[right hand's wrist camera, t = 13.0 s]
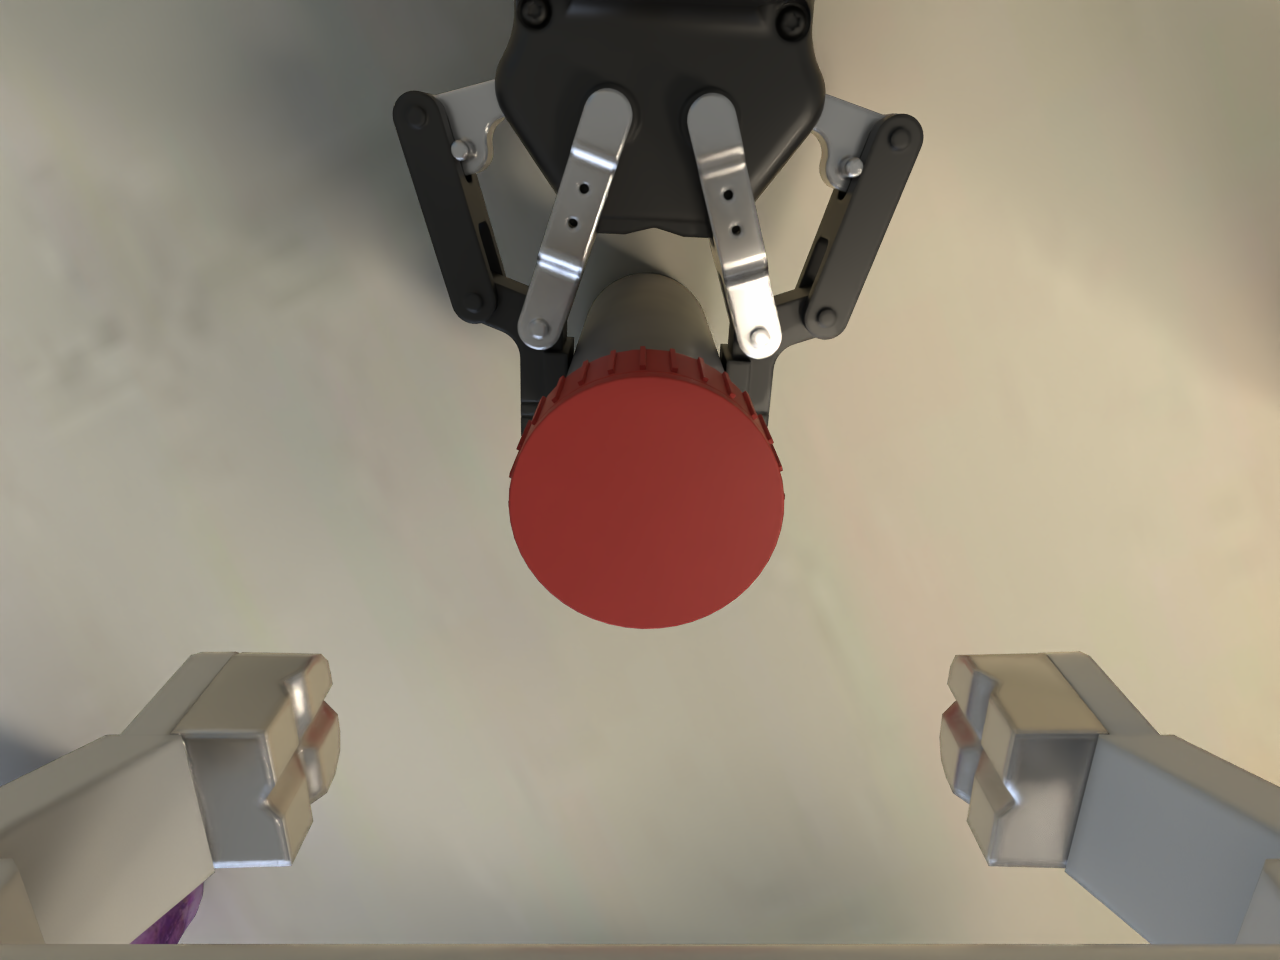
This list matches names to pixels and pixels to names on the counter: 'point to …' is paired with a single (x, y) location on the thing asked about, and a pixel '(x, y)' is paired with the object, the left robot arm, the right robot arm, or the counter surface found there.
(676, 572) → the lid
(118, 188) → the counter surface
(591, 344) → the cylinder
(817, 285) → the left robot arm
